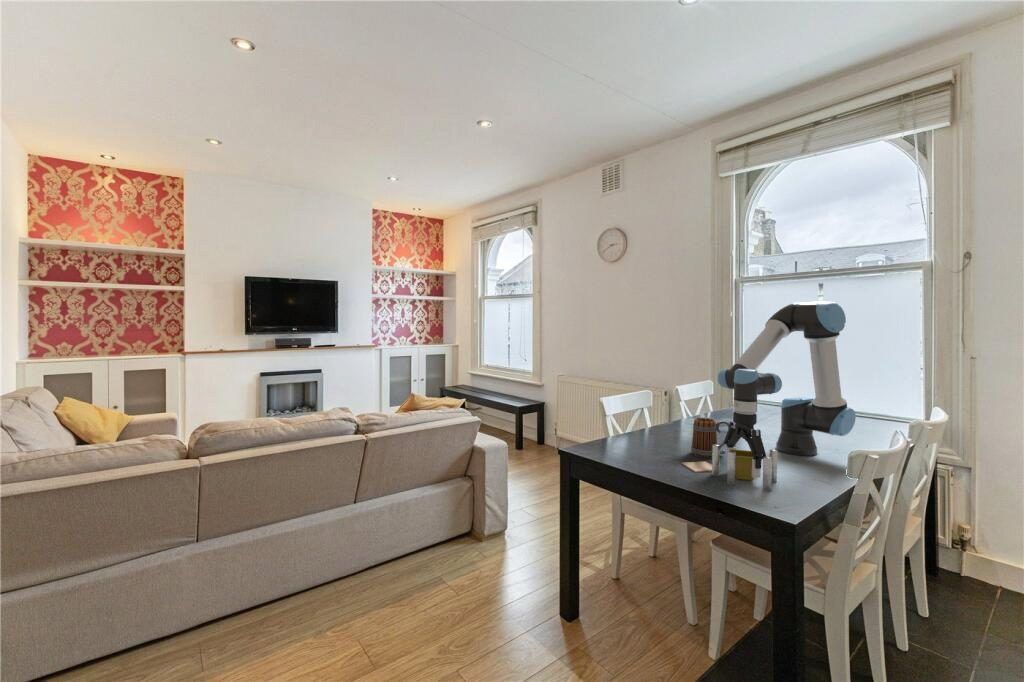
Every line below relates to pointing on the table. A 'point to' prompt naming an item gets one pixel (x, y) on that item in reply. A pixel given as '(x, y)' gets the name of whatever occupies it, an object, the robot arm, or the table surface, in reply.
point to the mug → (705, 437)
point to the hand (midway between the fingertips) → (743, 470)
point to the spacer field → (768, 467)
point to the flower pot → (743, 464)
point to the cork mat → (698, 466)
